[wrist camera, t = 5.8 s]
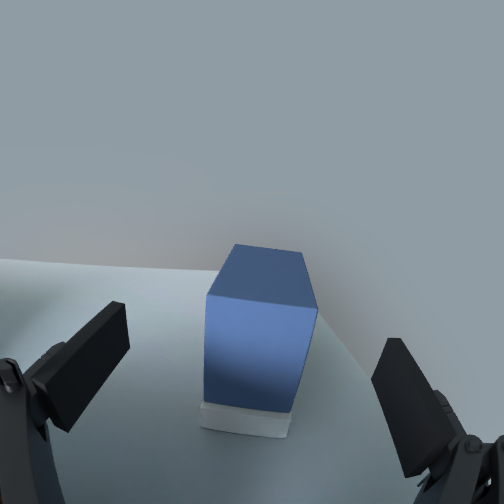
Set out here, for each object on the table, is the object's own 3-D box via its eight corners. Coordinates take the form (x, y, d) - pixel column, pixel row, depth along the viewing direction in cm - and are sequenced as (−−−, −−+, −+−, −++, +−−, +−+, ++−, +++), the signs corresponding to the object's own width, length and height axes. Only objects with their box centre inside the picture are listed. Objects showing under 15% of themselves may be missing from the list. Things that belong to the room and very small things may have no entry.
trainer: (284, 325, 27) (298, 238, 25) (285, 438, 14) (322, 314, 11) (232, 319, 28) (240, 231, 25) (199, 427, 14) (200, 298, 12)
